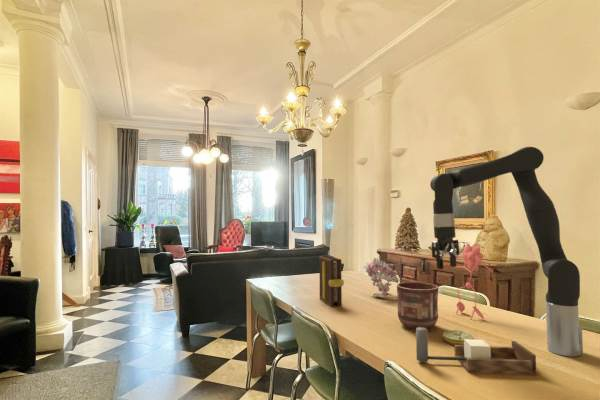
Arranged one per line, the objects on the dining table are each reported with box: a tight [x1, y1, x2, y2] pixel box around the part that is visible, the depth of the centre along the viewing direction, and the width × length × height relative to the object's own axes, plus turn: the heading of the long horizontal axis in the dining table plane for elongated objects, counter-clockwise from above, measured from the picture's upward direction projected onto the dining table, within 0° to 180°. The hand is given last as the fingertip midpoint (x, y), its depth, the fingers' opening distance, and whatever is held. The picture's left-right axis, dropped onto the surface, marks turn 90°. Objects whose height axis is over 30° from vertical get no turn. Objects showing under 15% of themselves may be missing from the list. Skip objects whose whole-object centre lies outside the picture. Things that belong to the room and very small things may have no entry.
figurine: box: [455, 243, 493, 324], centre depth 167 cm, size 15×26×35 cm, turn 19°
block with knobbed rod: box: [415, 327, 491, 363], centre depth 113 cm, size 22×6×10 cm, turn 84°
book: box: [318, 255, 345, 308], centre depth 193 cm, size 22×8×25 cm, turn 17°
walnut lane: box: [454, 340, 537, 376], centre depth 112 cm, size 20×12×6 cm, turn 84°
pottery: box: [396, 281, 440, 331], centre depth 151 cm, size 18×18×18 cm
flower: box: [362, 257, 401, 299], centre depth 208 cm, size 20×22×25 cm
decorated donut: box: [442, 329, 475, 346], centre depth 132 cm, size 10×11×4 cm
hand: (447, 267), depth 131 cm, fingers open, 8 cm apart
